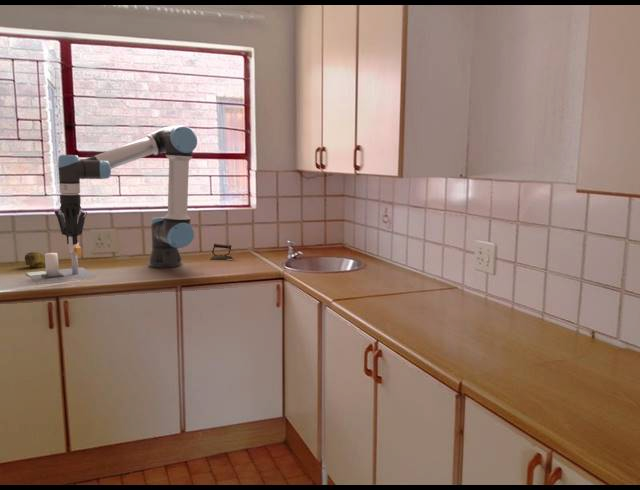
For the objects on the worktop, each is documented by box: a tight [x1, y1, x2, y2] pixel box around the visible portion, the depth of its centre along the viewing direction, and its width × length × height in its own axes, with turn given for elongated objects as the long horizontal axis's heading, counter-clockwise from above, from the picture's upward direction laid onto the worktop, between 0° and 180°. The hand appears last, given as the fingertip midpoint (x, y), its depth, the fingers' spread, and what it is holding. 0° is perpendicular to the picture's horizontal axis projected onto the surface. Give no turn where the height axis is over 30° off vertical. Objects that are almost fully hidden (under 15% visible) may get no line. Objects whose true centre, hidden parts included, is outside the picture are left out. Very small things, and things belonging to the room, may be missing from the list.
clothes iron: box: [209, 243, 234, 260], centre depth 281 cm, size 7×11×10 cm, turn 85°
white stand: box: [25, 253, 96, 285], centre depth 237 cm, size 23×21×11 cm
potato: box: [24, 251, 46, 269], centre depth 253 cm, size 8×13×8 cm, turn 129°
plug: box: [44, 252, 60, 276], centre depth 234 cm, size 5×5×9 cm
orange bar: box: [74, 242, 83, 256], centre depth 233 cm, size 16×4×3 cm, turn 32°
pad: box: [26, 270, 46, 278], centre depth 238 cm, size 7×7×1 cm
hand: (72, 252), depth 226 cm, fingers closed
